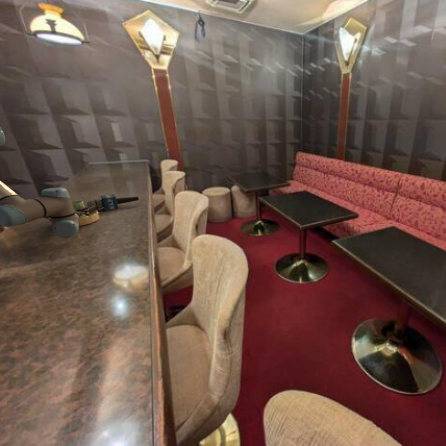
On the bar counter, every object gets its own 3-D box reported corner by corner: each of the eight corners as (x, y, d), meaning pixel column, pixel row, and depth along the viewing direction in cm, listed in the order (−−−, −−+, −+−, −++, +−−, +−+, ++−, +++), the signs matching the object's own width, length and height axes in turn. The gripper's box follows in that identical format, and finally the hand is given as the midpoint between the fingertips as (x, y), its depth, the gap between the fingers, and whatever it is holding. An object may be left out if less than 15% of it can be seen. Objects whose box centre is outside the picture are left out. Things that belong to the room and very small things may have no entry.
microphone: (138, 193, 155) (87, 200, 139) (140, 205, 158) (91, 213, 142) (135, 191, 161) (86, 197, 145) (138, 202, 164) (90, 209, 147)
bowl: (53, 230, 119) (51, 222, 117) (60, 219, 132) (57, 212, 130) (98, 223, 128) (96, 216, 126) (100, 214, 141) (98, 207, 139)
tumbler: (74, 224, 125) (68, 205, 121) (66, 221, 128) (59, 203, 124) (91, 219, 131) (86, 201, 128) (83, 217, 134) (78, 199, 131)
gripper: (31, 233, 102) (39, 218, 118) (105, 221, 117) (104, 209, 132) (24, 216, 100) (33, 203, 115) (101, 206, 114) (100, 196, 130)
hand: (71, 206), depth 124 cm, fingers open, 13 cm apart
